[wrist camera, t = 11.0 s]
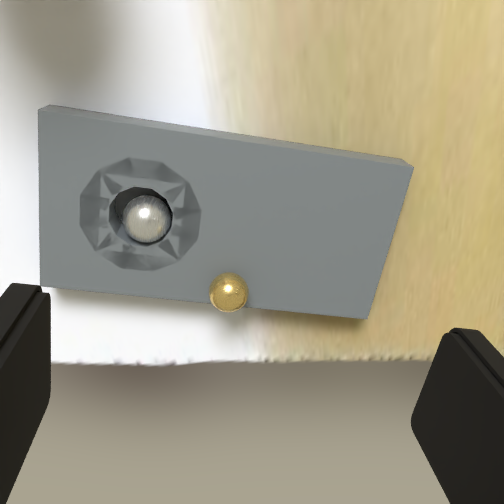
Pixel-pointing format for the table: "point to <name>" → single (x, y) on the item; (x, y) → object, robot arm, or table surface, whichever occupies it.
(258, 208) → the hole board
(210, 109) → the table surface
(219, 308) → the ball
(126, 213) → the ball
